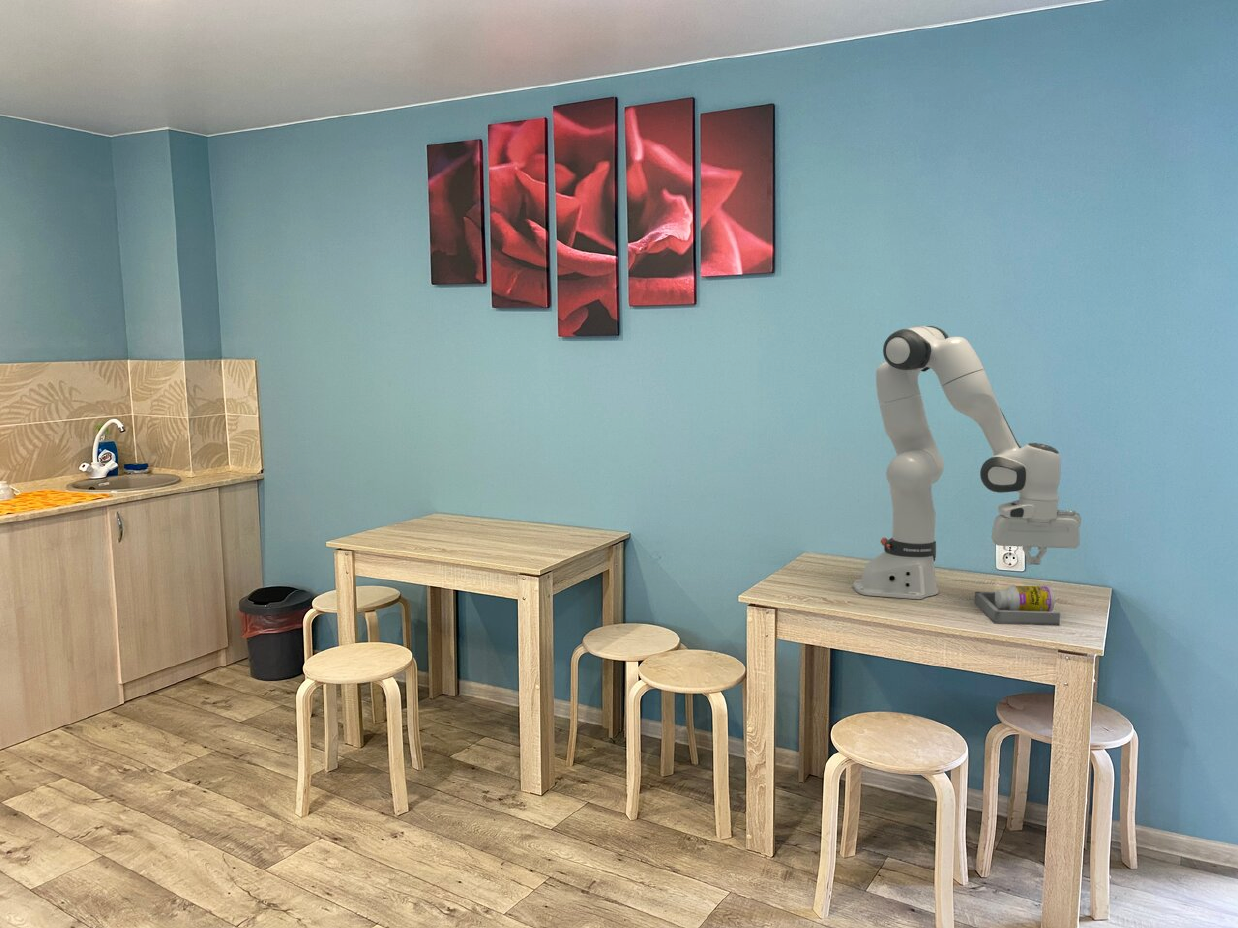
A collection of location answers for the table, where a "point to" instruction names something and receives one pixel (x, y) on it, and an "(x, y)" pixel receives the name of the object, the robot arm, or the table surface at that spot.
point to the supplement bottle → (1026, 598)
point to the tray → (1013, 612)
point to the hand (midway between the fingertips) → (1033, 564)
